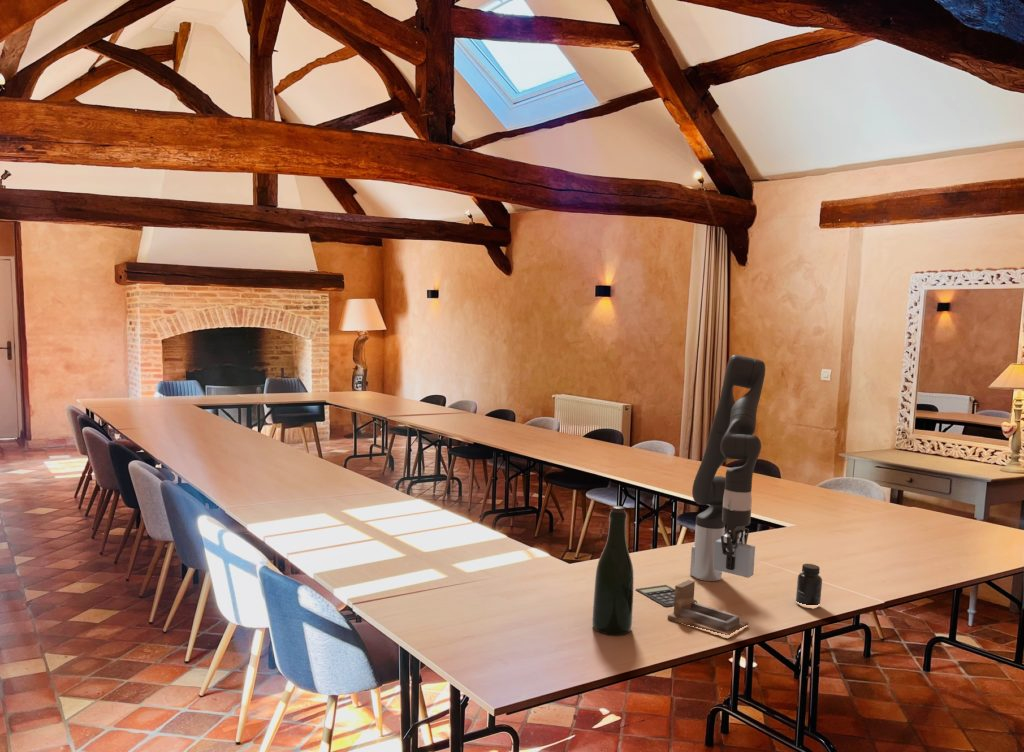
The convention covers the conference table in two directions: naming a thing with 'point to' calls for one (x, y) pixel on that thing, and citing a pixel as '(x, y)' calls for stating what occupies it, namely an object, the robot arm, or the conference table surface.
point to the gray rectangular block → (736, 559)
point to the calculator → (660, 594)
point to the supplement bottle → (809, 585)
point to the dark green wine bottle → (614, 580)
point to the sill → (701, 612)
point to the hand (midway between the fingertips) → (733, 567)
